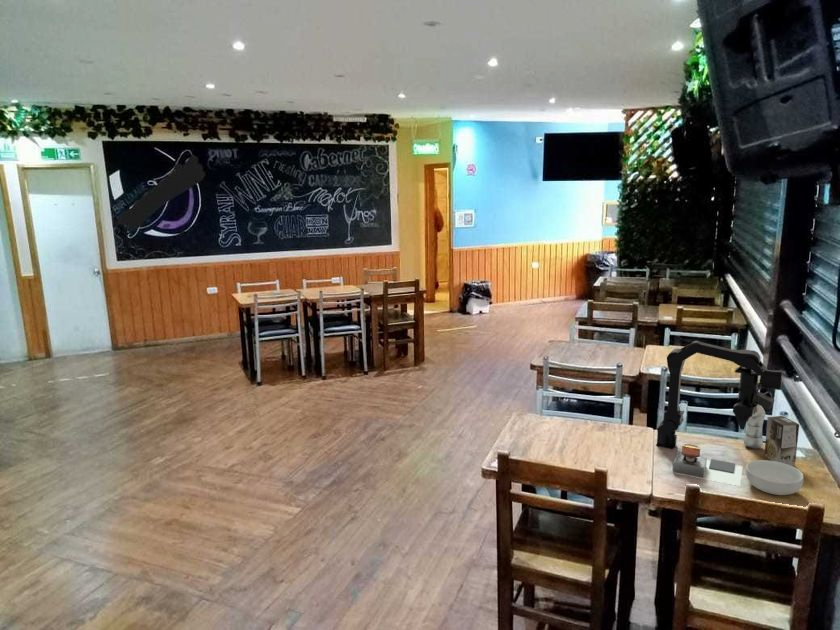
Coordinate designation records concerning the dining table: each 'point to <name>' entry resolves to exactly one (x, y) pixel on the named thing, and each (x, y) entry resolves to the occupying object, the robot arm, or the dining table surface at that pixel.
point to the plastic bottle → (755, 429)
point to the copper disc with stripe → (690, 452)
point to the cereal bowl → (774, 477)
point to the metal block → (689, 465)
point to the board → (722, 475)
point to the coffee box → (781, 440)
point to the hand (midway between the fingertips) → (744, 425)
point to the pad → (722, 466)
